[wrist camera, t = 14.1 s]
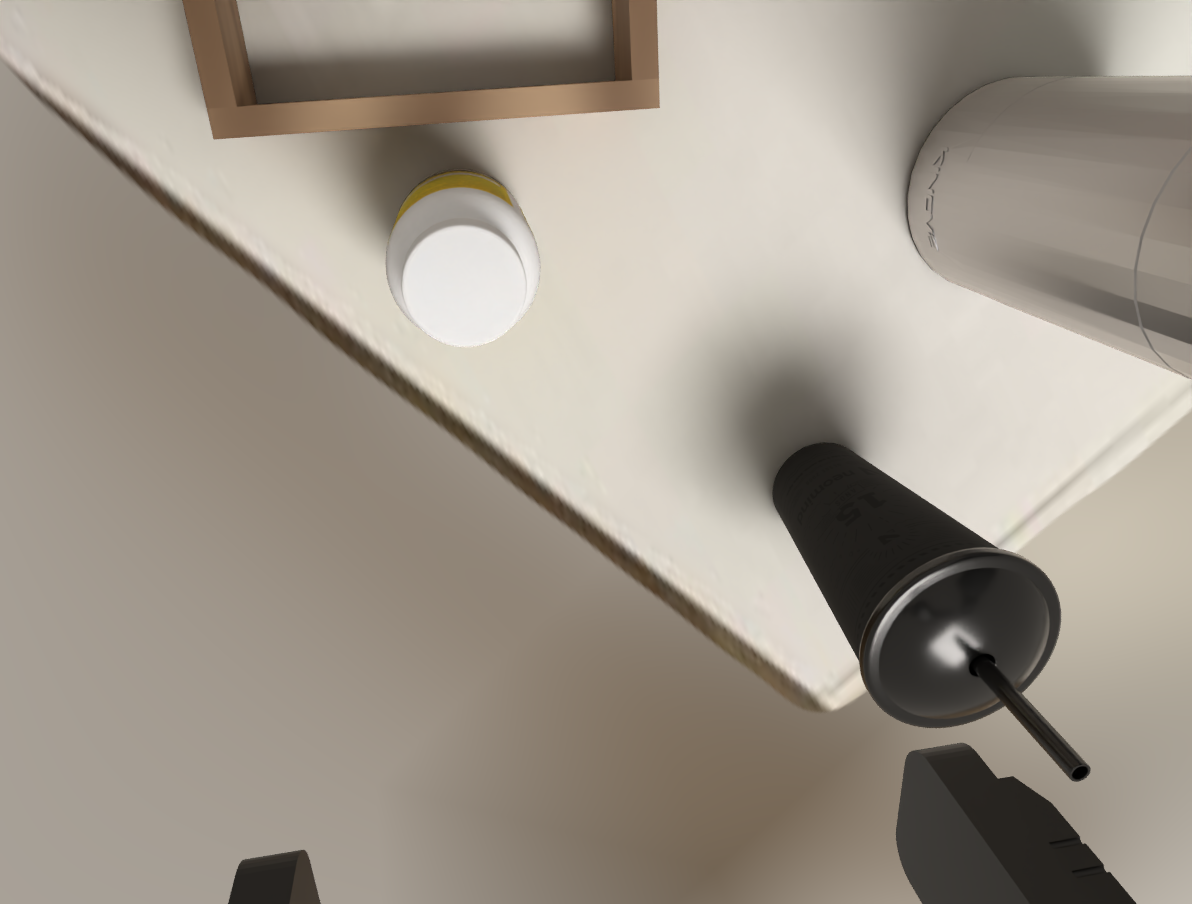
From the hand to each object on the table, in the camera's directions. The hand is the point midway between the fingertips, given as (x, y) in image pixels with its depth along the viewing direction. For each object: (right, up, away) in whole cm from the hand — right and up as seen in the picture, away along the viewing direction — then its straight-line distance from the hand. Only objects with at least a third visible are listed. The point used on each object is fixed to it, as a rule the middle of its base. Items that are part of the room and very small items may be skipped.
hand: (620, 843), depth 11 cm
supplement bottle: (-6, +14, +25) cm, 29 cm away
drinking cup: (+11, +4, +32) cm, 34 cm away
